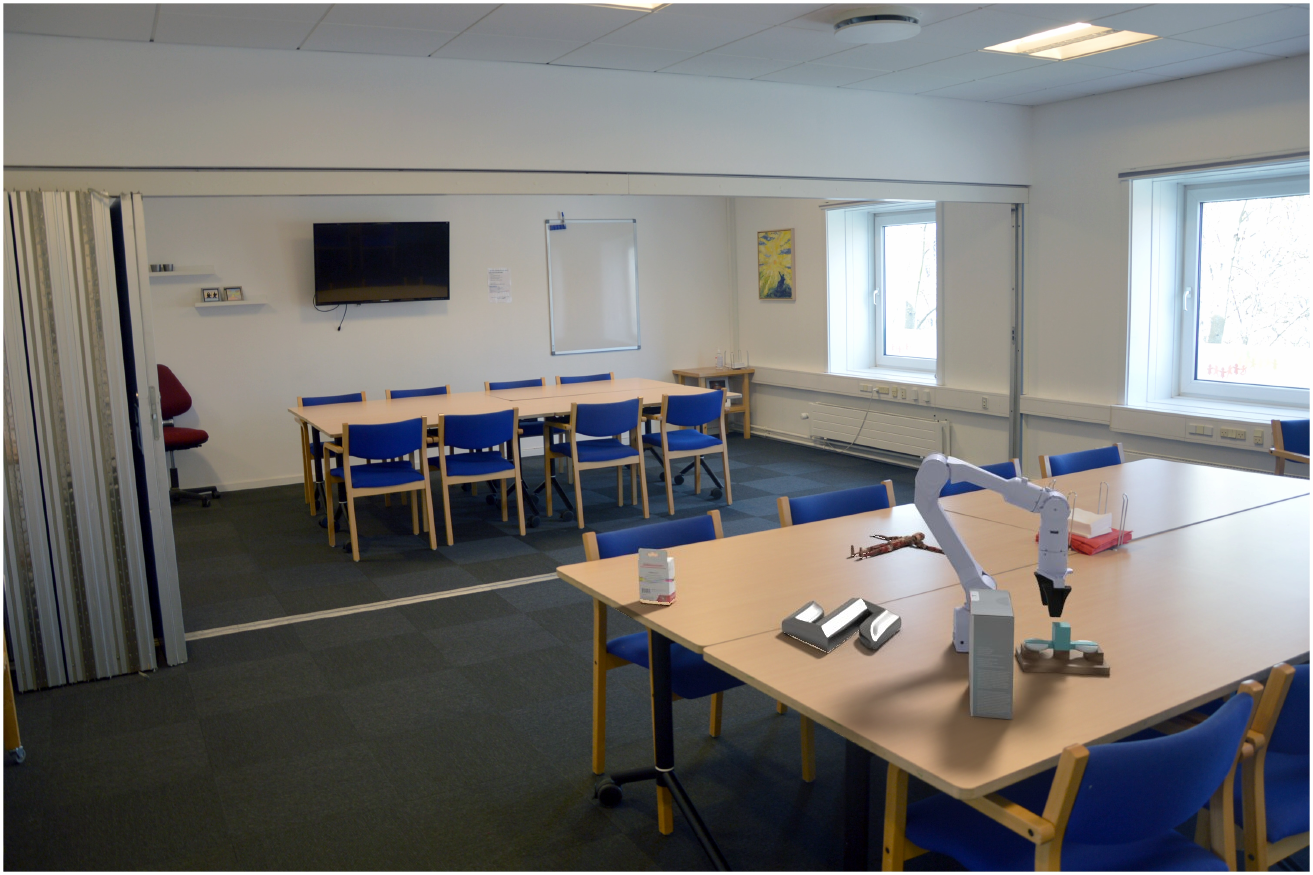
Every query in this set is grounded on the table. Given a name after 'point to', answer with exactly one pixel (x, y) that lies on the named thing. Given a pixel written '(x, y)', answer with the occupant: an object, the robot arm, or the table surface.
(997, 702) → the hard drive box
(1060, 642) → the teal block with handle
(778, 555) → the table surface
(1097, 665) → the display stand
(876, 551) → the mannequin
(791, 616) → the emblem
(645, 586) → the ink cartridge box
